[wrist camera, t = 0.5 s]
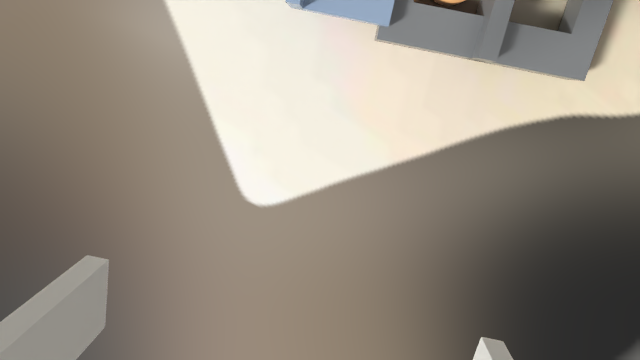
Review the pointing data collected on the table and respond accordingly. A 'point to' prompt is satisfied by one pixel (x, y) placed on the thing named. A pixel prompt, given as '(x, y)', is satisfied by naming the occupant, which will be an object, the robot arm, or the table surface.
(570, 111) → the table surface
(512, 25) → the housing
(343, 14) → the lid
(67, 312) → the robot arm
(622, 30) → the table surface
